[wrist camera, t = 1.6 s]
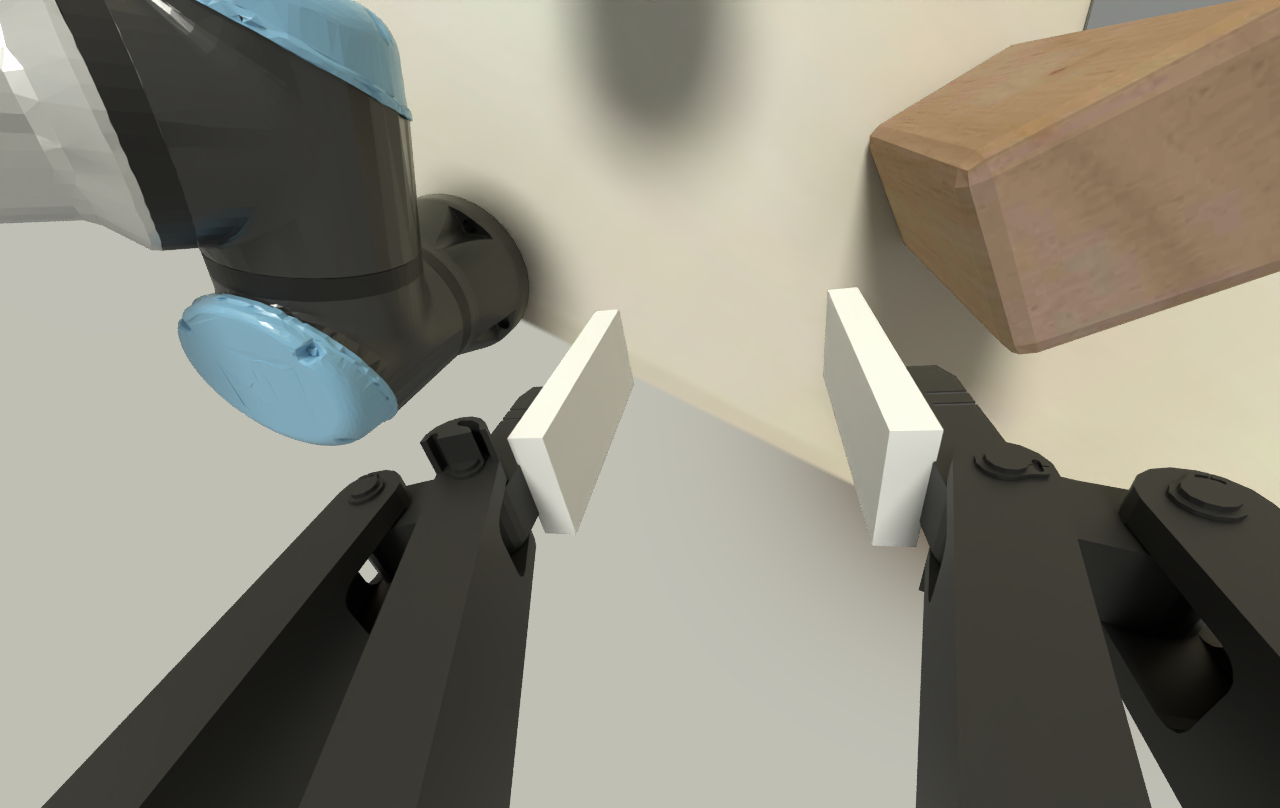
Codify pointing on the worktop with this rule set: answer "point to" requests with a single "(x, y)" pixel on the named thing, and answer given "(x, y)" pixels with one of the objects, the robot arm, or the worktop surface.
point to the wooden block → (1096, 172)
